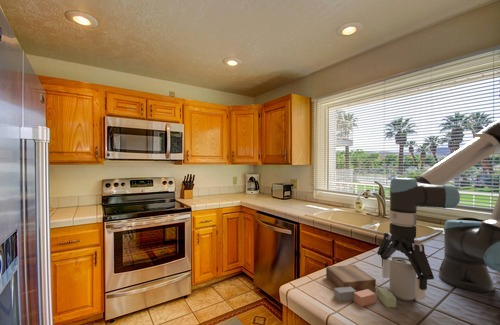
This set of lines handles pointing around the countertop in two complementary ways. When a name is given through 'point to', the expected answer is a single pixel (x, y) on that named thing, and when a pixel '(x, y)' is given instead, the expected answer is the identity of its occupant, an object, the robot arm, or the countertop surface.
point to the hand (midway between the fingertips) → (401, 287)
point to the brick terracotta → (364, 297)
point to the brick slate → (344, 293)
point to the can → (402, 278)
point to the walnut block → (350, 277)
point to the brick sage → (386, 297)
